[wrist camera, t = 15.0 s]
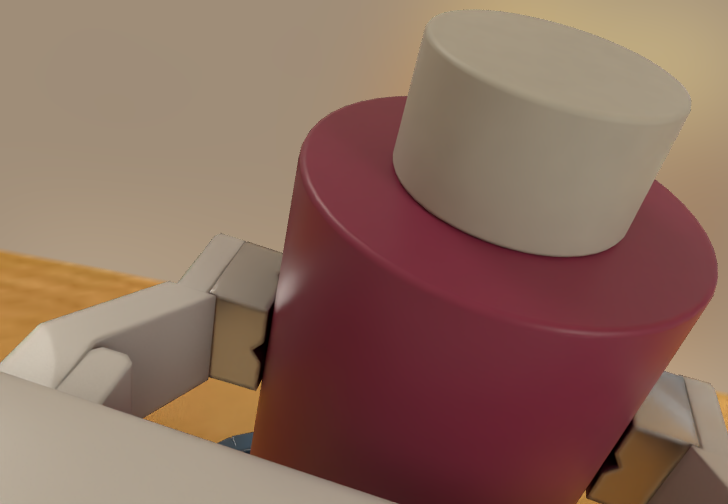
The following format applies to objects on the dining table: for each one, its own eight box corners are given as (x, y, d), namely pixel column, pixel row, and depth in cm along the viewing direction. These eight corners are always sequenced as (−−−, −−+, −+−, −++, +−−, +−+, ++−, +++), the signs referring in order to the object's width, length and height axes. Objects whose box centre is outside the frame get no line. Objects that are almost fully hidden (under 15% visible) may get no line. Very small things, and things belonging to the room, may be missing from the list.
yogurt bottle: (506, 483, 16) (739, 50, 10) (489, 746, 12) (899, 253, 5) (287, 411, 17) (380, -48, 10) (186, 638, 12) (246, 63, 6)
